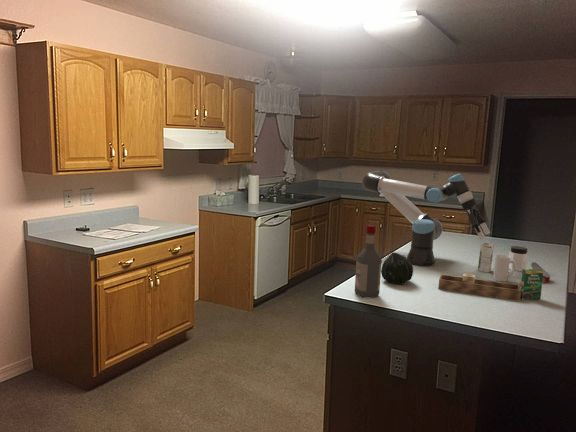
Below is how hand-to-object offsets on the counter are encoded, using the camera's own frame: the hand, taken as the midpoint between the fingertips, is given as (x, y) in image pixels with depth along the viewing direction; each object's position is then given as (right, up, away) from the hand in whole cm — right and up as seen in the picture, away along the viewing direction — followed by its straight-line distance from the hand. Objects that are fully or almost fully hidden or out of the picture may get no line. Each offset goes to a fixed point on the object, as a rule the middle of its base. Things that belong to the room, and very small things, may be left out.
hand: (485, 236), depth 259 cm
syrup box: (-3, -18, -5) cm, 19 cm away
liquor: (-73, -23, -53) cm, 93 cm away
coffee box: (-1, -25, -50) cm, 56 cm away
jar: (+17, -18, +1) cm, 25 cm away
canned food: (+18, -22, -19) cm, 34 cm away
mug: (0, -21, -22) cm, 31 cm away
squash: (-55, -21, -32) cm, 67 cm away
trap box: (-21, -23, -43) cm, 53 cm away
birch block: (-25, -20, -41) cm, 53 cm away
